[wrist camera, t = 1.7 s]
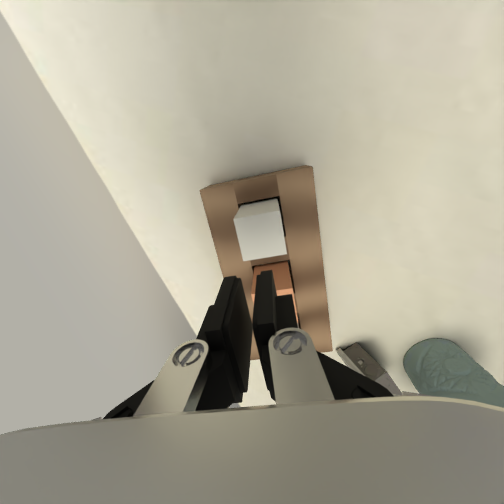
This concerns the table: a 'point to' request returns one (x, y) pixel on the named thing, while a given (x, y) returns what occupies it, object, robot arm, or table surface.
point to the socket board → (296, 240)
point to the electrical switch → (367, 367)
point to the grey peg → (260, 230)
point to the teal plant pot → (450, 373)
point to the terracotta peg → (276, 279)
